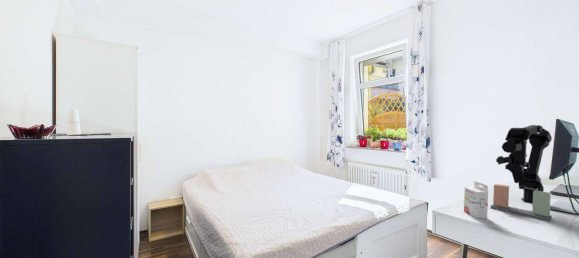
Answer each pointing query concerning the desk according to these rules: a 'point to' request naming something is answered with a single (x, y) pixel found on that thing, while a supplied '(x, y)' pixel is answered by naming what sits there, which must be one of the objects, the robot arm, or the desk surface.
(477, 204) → the ink cartridge box
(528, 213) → the grey flat slab
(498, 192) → the peach button block
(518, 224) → the desk surface
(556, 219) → the desk surface
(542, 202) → the pale green block
